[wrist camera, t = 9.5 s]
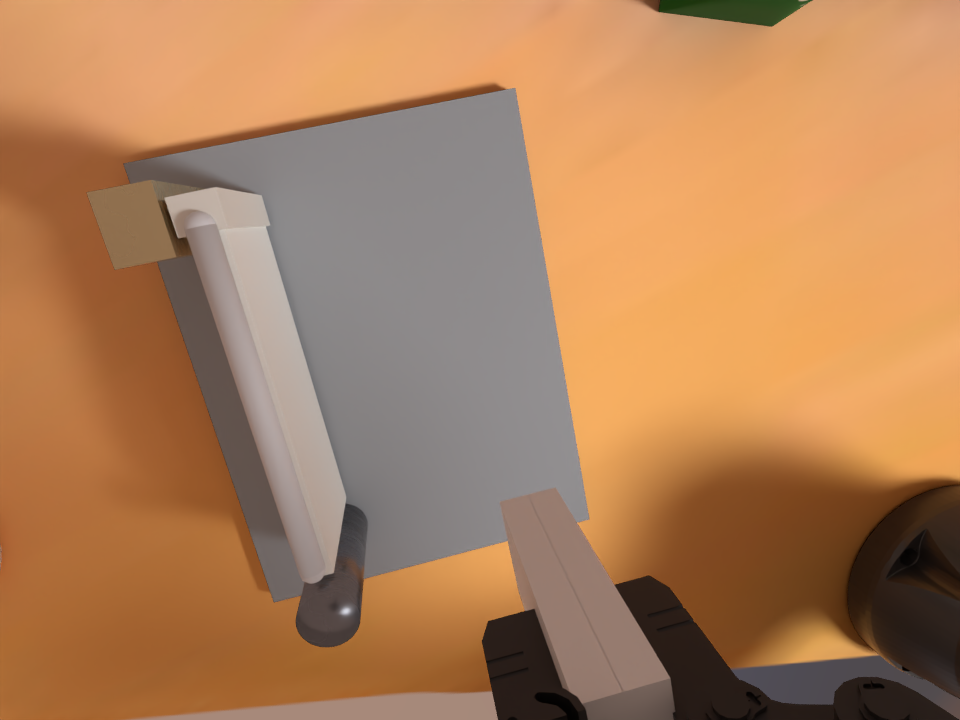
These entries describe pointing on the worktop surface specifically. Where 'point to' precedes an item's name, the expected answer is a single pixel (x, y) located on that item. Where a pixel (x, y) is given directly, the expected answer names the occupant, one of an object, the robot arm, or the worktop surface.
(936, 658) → the robot arm
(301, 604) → the hinge post
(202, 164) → the board
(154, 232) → the post
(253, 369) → the rod
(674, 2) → the milk carton
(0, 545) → the ramekin
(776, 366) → the worktop surface
